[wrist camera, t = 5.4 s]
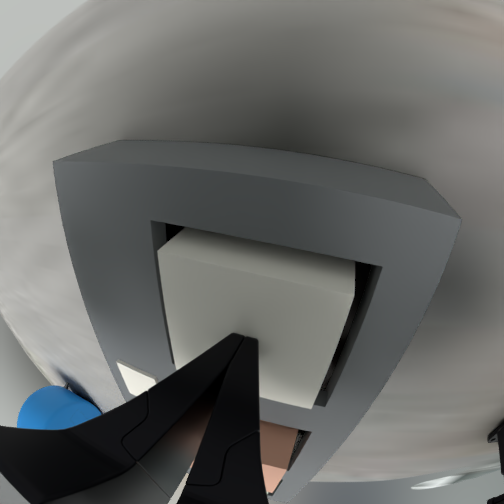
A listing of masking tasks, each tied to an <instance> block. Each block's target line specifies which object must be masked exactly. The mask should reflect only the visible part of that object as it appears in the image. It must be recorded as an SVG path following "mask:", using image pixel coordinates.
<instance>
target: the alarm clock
mask: <svg viewBox="0 0 504 504" xmlns="http://www.w3.org/2000/svg"><path fill="white" fill-rule="evenodd" d="M68 385H69V383H66V385H65V387H61V386H47V387H44V388H41V389H39V390H37V391H36V392H34V393H33V394H32V395H30V396H29V397H28V398H27V400H26V401H25V403H24V404H23V406H22V408H21V410H20V412H19V416H18V421H17V428H28V429H47V430H58V429H66V428H70V427H73V426H76V425H78V424H81V423H83V422H86V421H88V420H90V419H93V418H95V417H97V416H99V415H102V414H101V413H100V411H99V410H98V409H97V408H96V407H95V406H94V405H93V404H91V403H90V402H88V401H86V400H85V399H83V398H81V397H80V396H78V395H76V394H75V393H73V392H71V391H70V390H68Z"/></svg>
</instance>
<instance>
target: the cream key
mask: <svg viewBox="0 0 504 504" xmlns="http://www.w3.org/2000/svg"><path fill="white" fill-rule="evenodd" d="M157 252H158V261H159V269H160V277H161V284H162V292H163V298H164V305H165V311H166V317H167V323H168V329H169V335H170V340H171V346H172V351H173V356H174V361H175V366H176V370H178V369H180V368H181V367H183V366H184V365H186V364H187V363H189V362H190V361H192V360H193V359H195V358H196V357H198V356H199V355H201V354H202V353H203V352H205V351H206V350H208V349H209V348H211V347H212V346H214V345H215V344H216V343H218V342H219V341H221V340H222V339H224V338H225V337H226V336H228V335H229V334H231V333H238V334H241V335H244V336H245V337H246V336H249V337H252V338H256V339H258V341H259V394H260V397H262V398H266V399H270V400H274V401H278V402H282V403H286V404H290V405H294V406H299V407H303V408H308V409H311V408H312V406H313V404H314V402H315V399H316V397H317V395H318V392H319V390H320V388H321V385H322V383H323V381H324V378H325V376H326V373H327V371H328V368H329V366H330V363H331V361H332V358H333V355H334V353H335V350H336V348H337V345H338V342H339V339H340V337H341V334H342V331H343V328H344V325H345V323H346V320H347V317H348V314H349V311H350V308H351V305H352V302H353V299H354V295H355V261H354V260H349V259H344V258H340V257H335V256H330V255H325V254H320V253H315V252H311V251H306V250H301V249H296V248H291V247H286V246H281V245H276V244H271V243H266V242H261V241H256V240H251V239H246V238H241V237H236V236H231V235H226V234H221V233H215V232H210V231H205V230H200V229H195V228H190V227H185V228H184V229H183V230H182V231H180V232H179V233H178V234H177V235H176V236H174V237H173V238H172V239H171V240H170V241H168V242H167V243H166V244H165V245H164V246H162V247H161V248H160V249H159V250H158V251H157Z"/></svg>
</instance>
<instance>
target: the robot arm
mask: <svg viewBox="0 0 504 504" xmlns="http://www.w3.org/2000/svg"><path fill="white" fill-rule="evenodd" d="M487 439H488V443H491V442H498V445H499V453H500V463H501V474H502V475H504V423H503V424H502V425H501V426H500V427H499V428H497V429H496V430H495V431H494V432H493V433H492V434H491V435H489V436H488V438H487ZM193 461H194V462H193ZM192 462H193V465H192V467H191V470H190V473H189V476H188V478H187V481H186V485H185V487H184V489H183V491H182V494H181V496H180V498H179V500H178V502H177V504H269V502H268V497H267V491H266V486H265V481H264V475H263V468H262V461H261V446H260V394H259V341H258V339H256V338H252V337H249V336H246V337H245V336H244V335H241V334H238V333H231V334H229V335H228V336H226V337H225V338H224V339H222V340H221V341H219V342H218V343H216V344H215V345H214V346H212V347H211V348H209V349H208V350H206V351H205V352H203V353H202V354H201V355H199V356H198V357H196V358H195V359H193V360H192V361H190V362H189V363H187V364H186V365H184V366H183V367H181V368H180V369H178V370H177V371H175V372H174V373H172V374H171V375H169V376H168V377H166V378H165V379H163V380H162V381H160V382H159V383H157V384H155V385H154V386H152V387H151V388H149V389H148V391H144V392H143V393H141V394H140V395H138V396H136V397H135V398H133V399H131V400H130V401H128V402H126V403H124V404H123V405H121V406H119V407H117V408H114V409H112V410H110V411H108V412H106V413H104V414H102V415H99V416H97V417H95V418H93V419H90V420H88V421H86V422H83V423H81V424H78V425H76V426H73V427H70V428H66V429H58V430H47V429H28V428H14V427H6V426H0V504H168V502H169V501H170V498H171V497H172V496H173V494H174V492H175V491H176V489H177V488H178V486H179V484H180V482H181V481H182V479H183V478H184V476H185V474H186V473H187V471H188V469H189V468H190V466H191V464H192ZM487 504H504V494H502V495H499V496H498V497H493V498H491V499H489V500H488V501H487Z"/></svg>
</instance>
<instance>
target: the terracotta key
mask: <svg viewBox="0 0 504 504" xmlns="http://www.w3.org/2000/svg"><path fill="white" fill-rule="evenodd" d="M297 433H298V429H296V428H292V427H287V426H283V425H279V424H275V423H271V422H267V421H263V420H260V446H261V461H262V468H263V475H264V481H265V486H266V491H267V492H270V493H273V491H274V490H275V488H276V487H277V485H278V483H279V482H280V480H281V479H282V477H283V475H284V474H285V472H286V470H287V468H288V464H289V461H290V458H291V454H292V451H293V447H294V444H295V440H296V437H297ZM193 462H194V461H193ZM193 462H192V464H191V466H190V467H192V465H193Z"/></svg>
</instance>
